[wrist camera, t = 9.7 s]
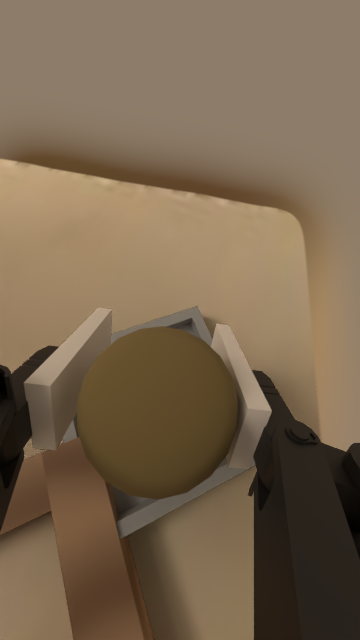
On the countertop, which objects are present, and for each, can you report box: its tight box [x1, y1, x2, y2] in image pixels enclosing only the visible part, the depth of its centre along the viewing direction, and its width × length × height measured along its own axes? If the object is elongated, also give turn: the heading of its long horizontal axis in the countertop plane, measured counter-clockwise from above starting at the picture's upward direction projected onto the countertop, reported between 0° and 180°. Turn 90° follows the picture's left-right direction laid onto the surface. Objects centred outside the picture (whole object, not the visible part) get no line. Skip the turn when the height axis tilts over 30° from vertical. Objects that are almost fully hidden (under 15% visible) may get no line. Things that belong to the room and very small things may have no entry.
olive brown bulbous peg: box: [77, 326, 238, 500], centre depth 11 cm, size 6×6×11 cm
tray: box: [63, 306, 256, 539], centre depth 16 cm, size 12×12×2 cm
